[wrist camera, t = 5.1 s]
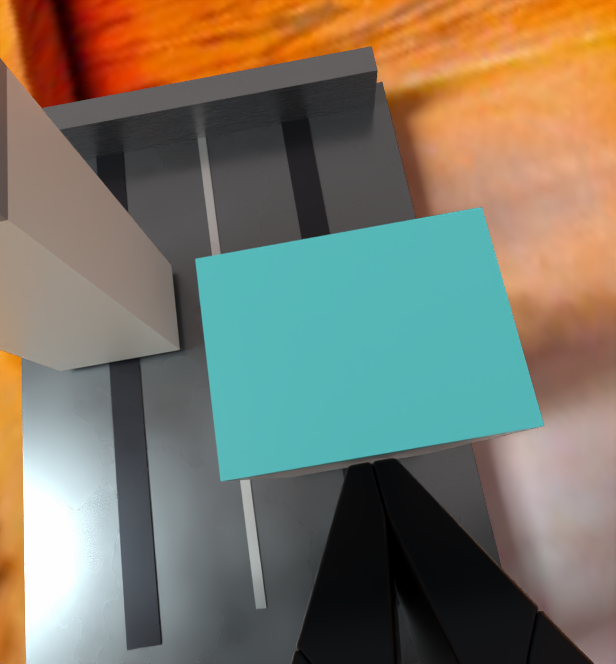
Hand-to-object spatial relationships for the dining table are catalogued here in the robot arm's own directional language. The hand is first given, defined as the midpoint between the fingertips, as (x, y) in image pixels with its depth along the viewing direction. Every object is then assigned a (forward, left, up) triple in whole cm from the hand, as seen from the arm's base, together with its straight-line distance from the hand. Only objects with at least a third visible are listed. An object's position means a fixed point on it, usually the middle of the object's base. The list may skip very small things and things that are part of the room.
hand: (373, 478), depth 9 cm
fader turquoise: (+1, -1, -7) cm, 7 cm away
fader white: (+9, 0, -7) cm, 12 cm away
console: (+5, -1, -8) cm, 10 cm away
